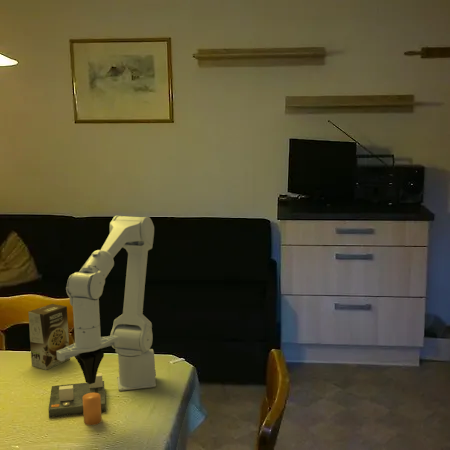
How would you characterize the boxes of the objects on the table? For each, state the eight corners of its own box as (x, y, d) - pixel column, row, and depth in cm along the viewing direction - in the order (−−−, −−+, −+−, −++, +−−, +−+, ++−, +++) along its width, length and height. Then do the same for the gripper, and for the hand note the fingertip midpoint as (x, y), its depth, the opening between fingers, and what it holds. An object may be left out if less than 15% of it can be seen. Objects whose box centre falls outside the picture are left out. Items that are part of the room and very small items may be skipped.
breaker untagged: (102, 384, 155) (102, 372, 155) (102, 387, 153) (102, 375, 153) (89, 385, 155) (89, 374, 154) (89, 388, 153) (89, 377, 152)
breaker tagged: (73, 396, 148) (73, 385, 148) (73, 399, 147) (72, 388, 146) (60, 398, 148) (59, 386, 147) (59, 401, 146) (59, 389, 145)
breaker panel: (104, 388, 158) (104, 379, 157) (105, 411, 145) (105, 401, 145) (52, 393, 155) (51, 384, 155) (49, 417, 142) (48, 408, 142)
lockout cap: (101, 415, 143) (100, 391, 142) (101, 423, 139) (100, 399, 138) (84, 417, 142) (82, 393, 141) (83, 426, 138) (82, 401, 137)
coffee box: (46, 370, 169) (42, 314, 167) (30, 366, 173) (26, 311, 170) (71, 359, 177) (67, 305, 174) (55, 355, 180) (52, 302, 178)
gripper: (106, 313, 144) (108, 368, 147) (48, 328, 135) (52, 386, 137) (122, 320, 139) (124, 376, 142) (63, 336, 130) (67, 396, 132)
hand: (90, 382), depth 139 cm, fingers closed
